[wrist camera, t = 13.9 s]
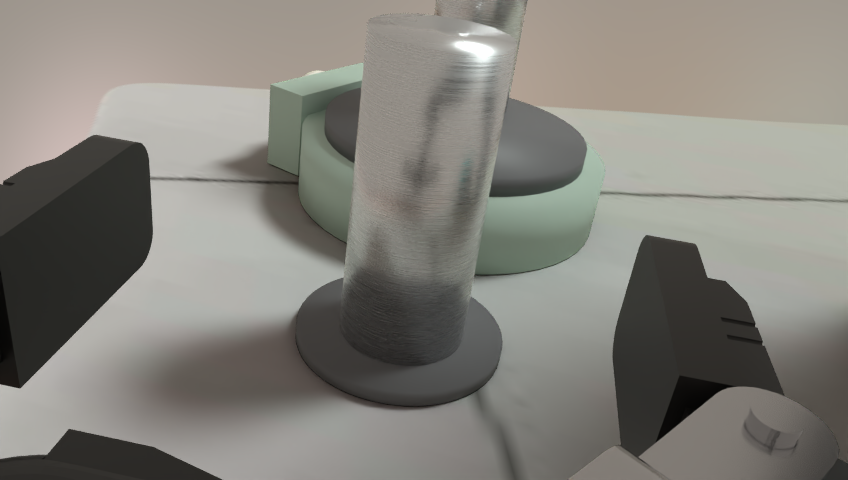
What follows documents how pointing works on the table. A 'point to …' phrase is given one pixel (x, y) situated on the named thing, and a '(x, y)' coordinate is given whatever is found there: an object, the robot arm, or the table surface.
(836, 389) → the table surface
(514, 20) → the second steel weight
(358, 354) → the rubber pad
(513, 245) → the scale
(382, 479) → the table surface
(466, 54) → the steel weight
